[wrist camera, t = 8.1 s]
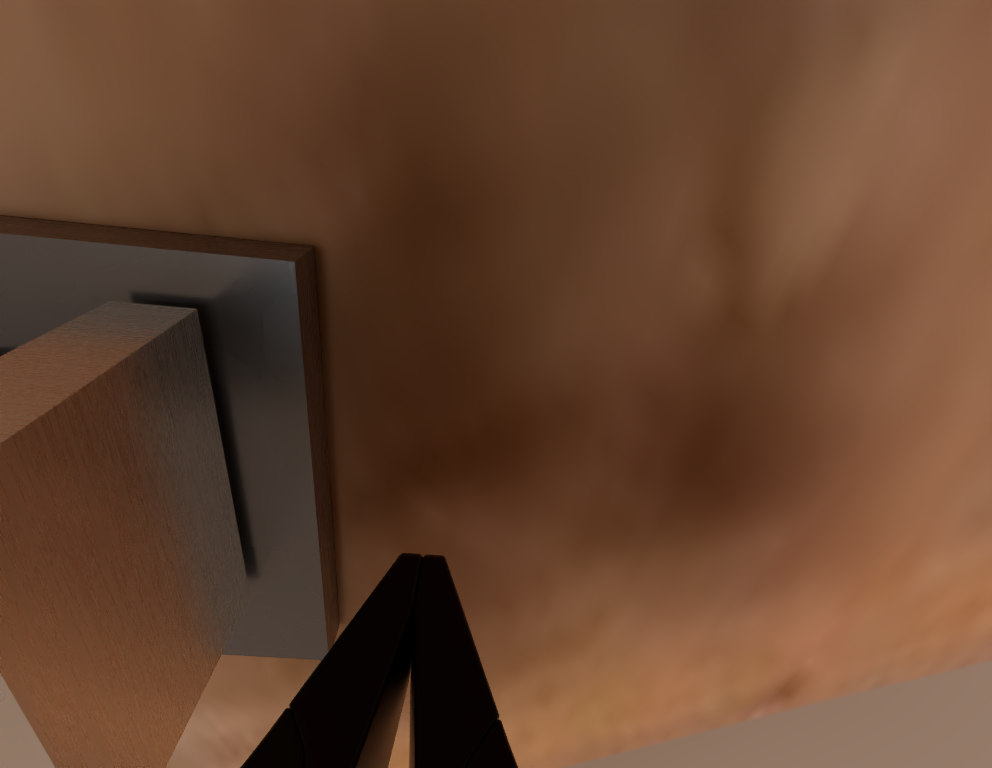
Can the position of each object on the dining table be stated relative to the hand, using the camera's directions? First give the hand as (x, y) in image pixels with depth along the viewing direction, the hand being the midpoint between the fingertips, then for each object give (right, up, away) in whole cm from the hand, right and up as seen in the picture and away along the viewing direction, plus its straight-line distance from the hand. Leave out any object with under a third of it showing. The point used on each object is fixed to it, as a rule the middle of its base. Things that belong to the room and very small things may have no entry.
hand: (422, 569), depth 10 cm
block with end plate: (-9, +1, +2) cm, 9 cm away
